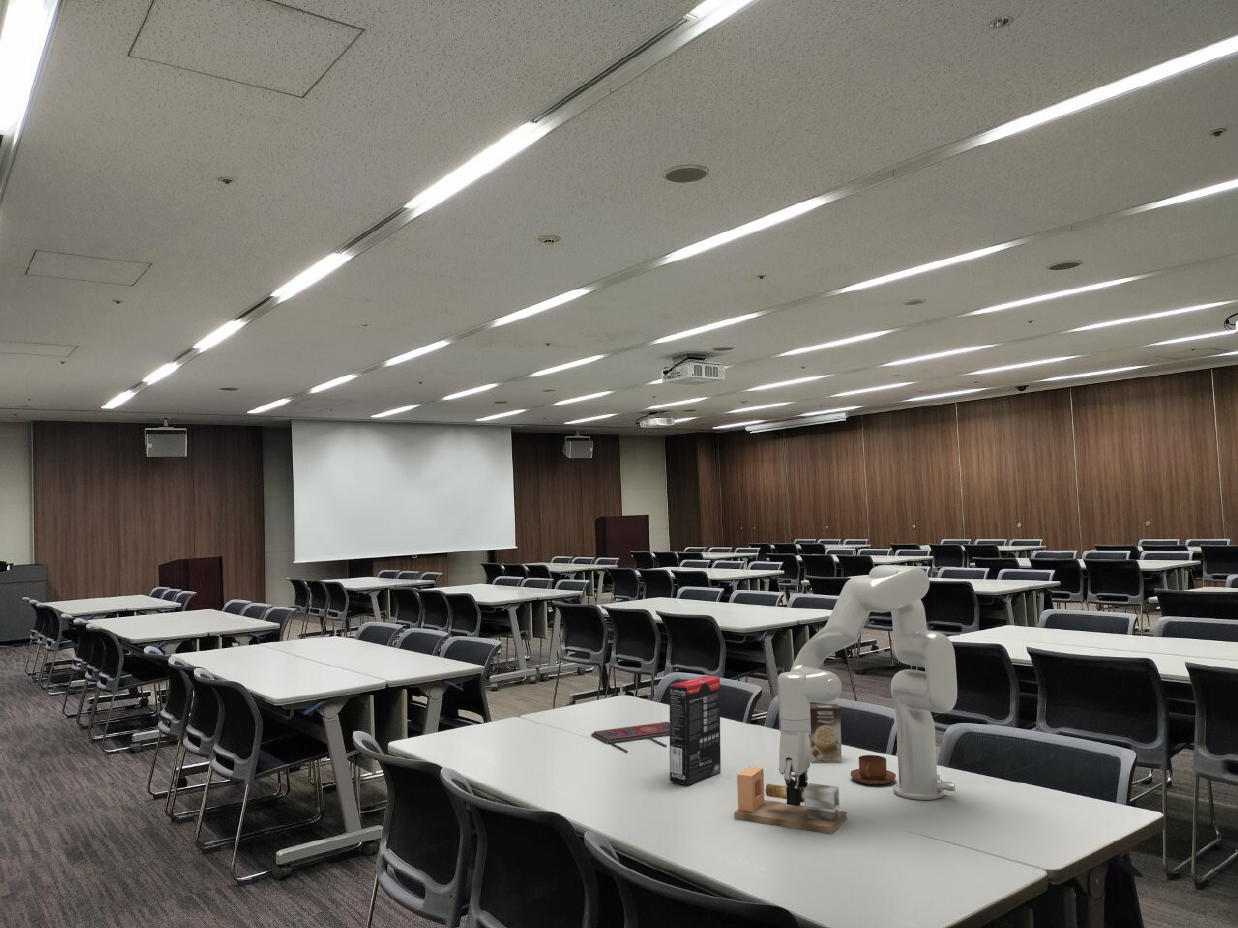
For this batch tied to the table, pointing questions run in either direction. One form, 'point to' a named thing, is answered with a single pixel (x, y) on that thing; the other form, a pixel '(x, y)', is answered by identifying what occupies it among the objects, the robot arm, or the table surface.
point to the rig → (802, 811)
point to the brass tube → (780, 792)
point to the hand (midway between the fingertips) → (797, 800)
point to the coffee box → (825, 733)
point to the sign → (633, 733)
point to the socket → (750, 789)
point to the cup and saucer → (872, 770)
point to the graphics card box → (694, 729)
